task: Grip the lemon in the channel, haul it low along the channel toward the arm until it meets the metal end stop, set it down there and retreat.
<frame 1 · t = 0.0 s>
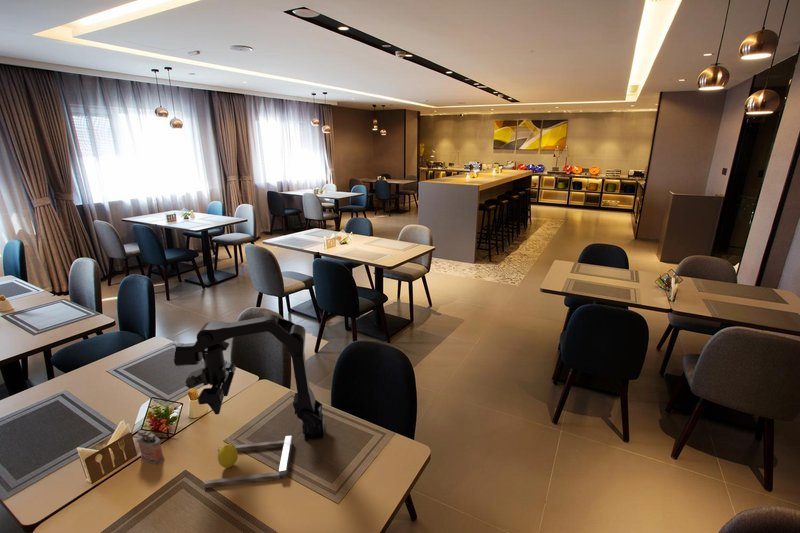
hand: (221, 404, 125), 15 cm above the table, fingers open, 9 cm apart
pink grey container: (153, 459, 123), on the table
channel: (251, 463, 121), on the table
lemon: (229, 467, 120), on the table
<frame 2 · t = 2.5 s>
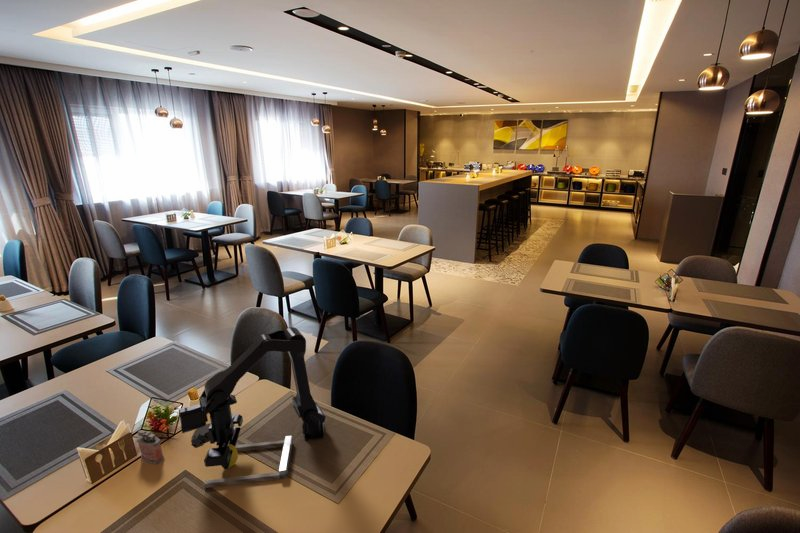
hand: (228, 461, 119), 2 cm above the table, fingers closed on lemon, 5 cm apart
lemon: (229, 467, 120), on the table, touching gripper
everything else where it was.
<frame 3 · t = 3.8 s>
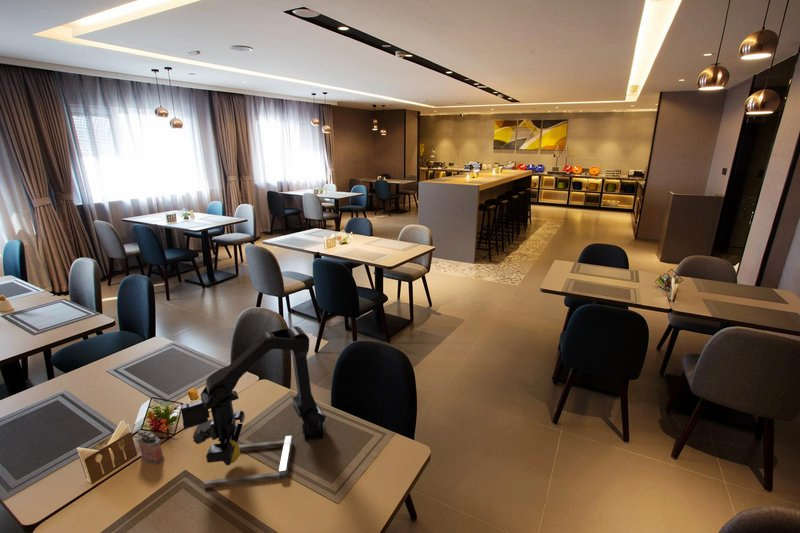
hand: (230, 457, 119), 3 cm above the table, fingers closed on lemon, 5 cm apart
lemon: (231, 463, 120), point 1 cm above the table, touching gripper
everything else where it was.
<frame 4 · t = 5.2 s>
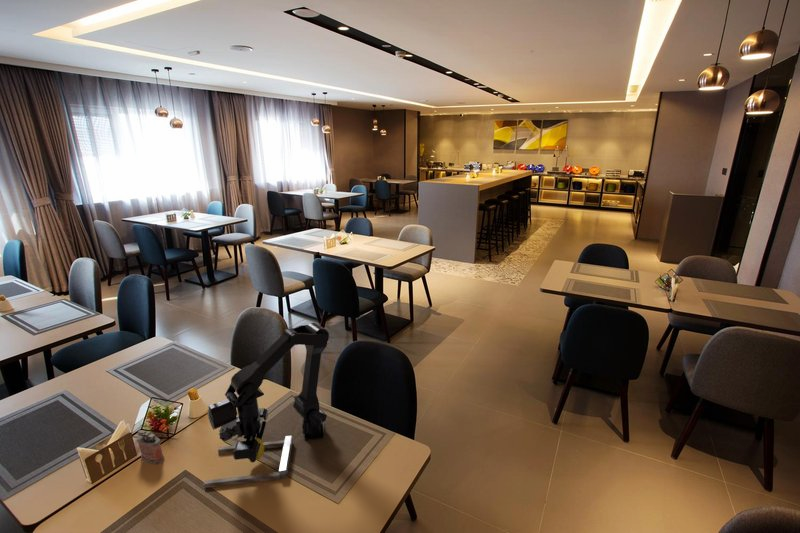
hand: (255, 454, 120), 3 cm above the table, fingers closed on lemon, 5 cm apart
lemon: (256, 460, 121), point 1 cm above the table, touching gripper
everything else where it was.
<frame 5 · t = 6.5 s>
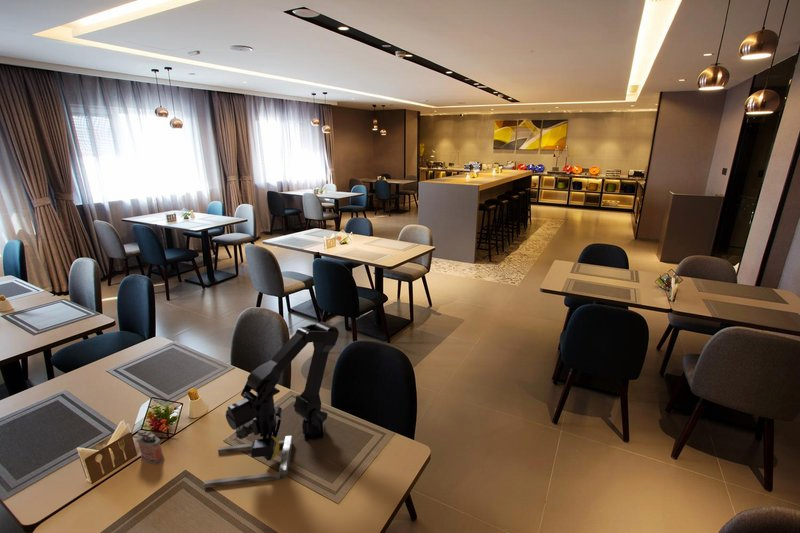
hand: (270, 452, 120), 3 cm above the table, fingers closed on lemon, 5 cm apart
lemon: (271, 458, 121), point 1 cm above the table, touching gripper
everything else where it was.
when the fingers open (2 cm above the table, at t = 7.9 s): lemon stays where it is, on the table.
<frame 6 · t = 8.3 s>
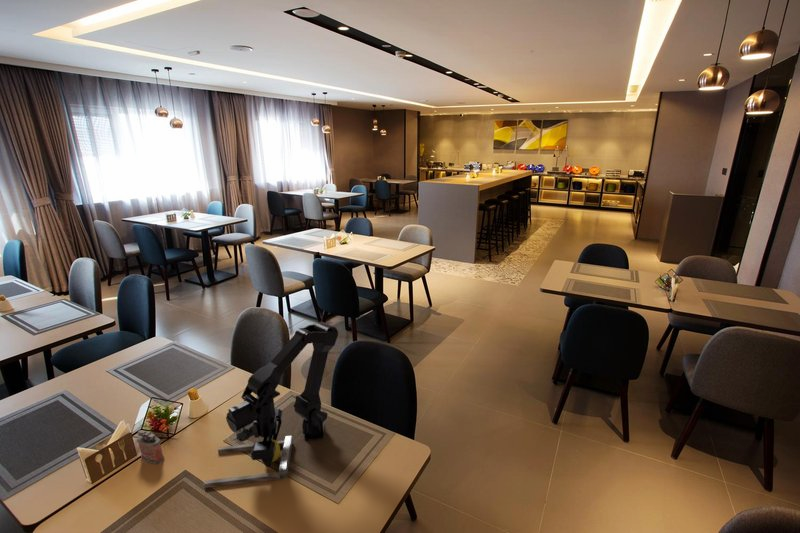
hand: (270, 455, 121), 2 cm above the table, fingers open, 9 cm apart
lemon: (272, 461, 122), on the table
everything else where it was.
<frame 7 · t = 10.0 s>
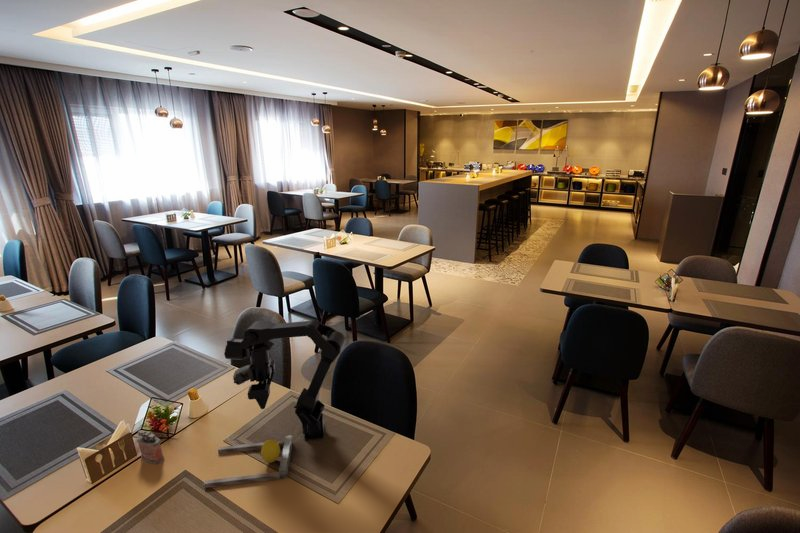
hand: (264, 400, 131), 12 cm above the table, fingers open, 9 cm apart
nothing on the table moved.
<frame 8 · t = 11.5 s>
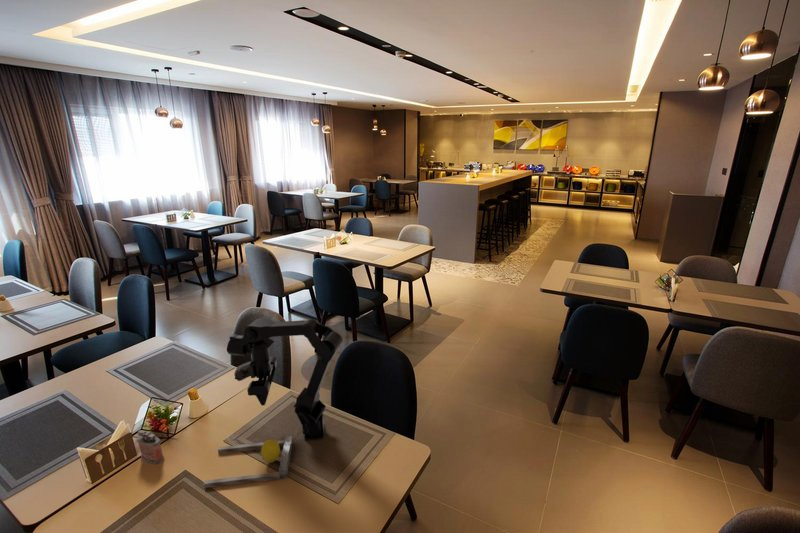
hand: (265, 396, 133), 12 cm above the table, fingers open, 9 cm apart
nothing on the table moved.
at the end: lemon 0.2 cm from the target spot on the channel, point 0.0 cm above the channel's base; lemon moved 12.6 cm from its start; the gripper is holding nothing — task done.
